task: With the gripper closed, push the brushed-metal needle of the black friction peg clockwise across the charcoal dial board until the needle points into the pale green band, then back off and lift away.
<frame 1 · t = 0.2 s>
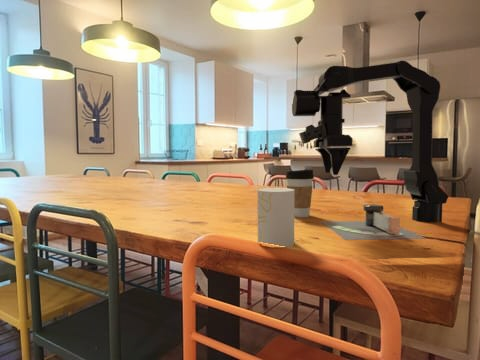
hand: (331, 173, 94), 14 cm above the table, fingers open, 9 cm apart
dial board: (367, 232, 85), on the table
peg: (381, 219, 84), point 4 cm above the table, hinge at 0.0°
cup: (275, 243, 77), on the table
coffee cup: (299, 219, 105), on the table
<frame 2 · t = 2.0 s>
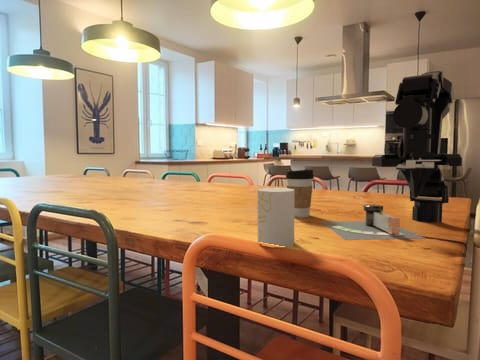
hand: (415, 197, 81), 9 cm above the table, fingers closed
nothing on the table moved.
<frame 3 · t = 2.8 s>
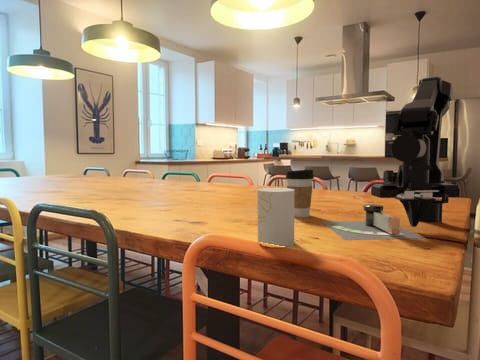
hand: (413, 226, 82), 2 cm above the table, fingers closed
nothing on the table moved.
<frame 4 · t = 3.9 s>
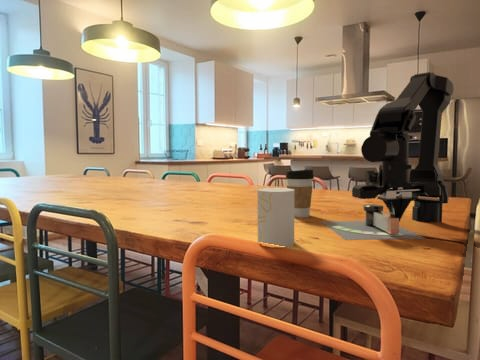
hand: (395, 226, 81), 2 cm above the table, fingers closed
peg: (381, 219, 84), point 4 cm above the table, hinge at -1.0°, touching gripper
everything else where it was.
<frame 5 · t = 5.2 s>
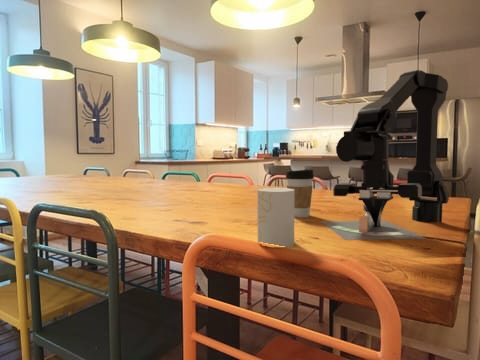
hand: (376, 226, 81), 3 cm above the table, fingers closed
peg: (369, 218, 85), point 4 cm above the table, hinge at -32.9°, touching gripper
everything else where it was.
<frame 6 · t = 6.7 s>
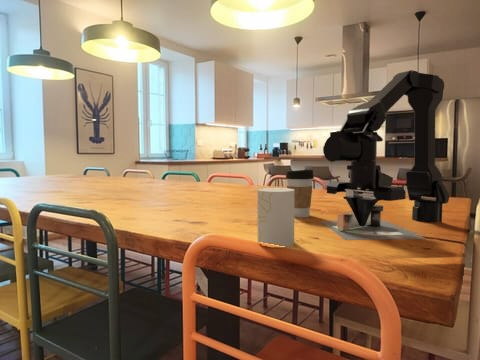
hand: (362, 226, 82), 2 cm above the table, fingers closed
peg: (360, 217, 87), point 4 cm above the table, hinge at -60.0°
everything else where it was.
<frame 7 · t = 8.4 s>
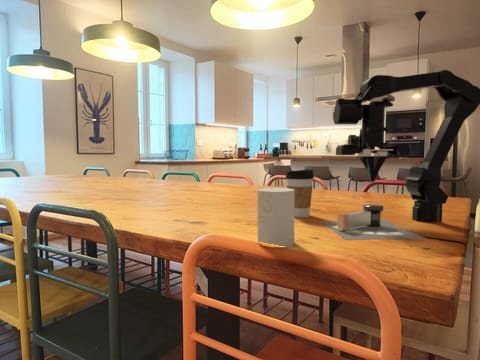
hand: (371, 181, 95), 12 cm above the table, fingers closed
nothing on the table moved.
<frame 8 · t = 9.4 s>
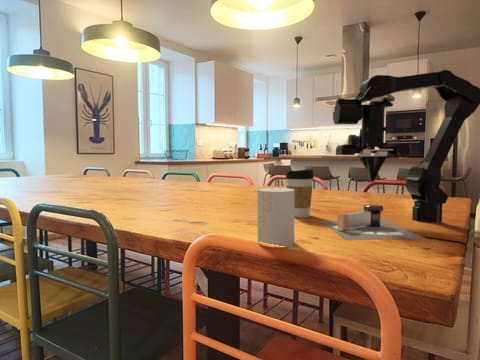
hand: (371, 181, 95), 12 cm above the table, fingers closed
nothing on the table moved.
at the end: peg at -60° (first picture: +0°) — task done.
